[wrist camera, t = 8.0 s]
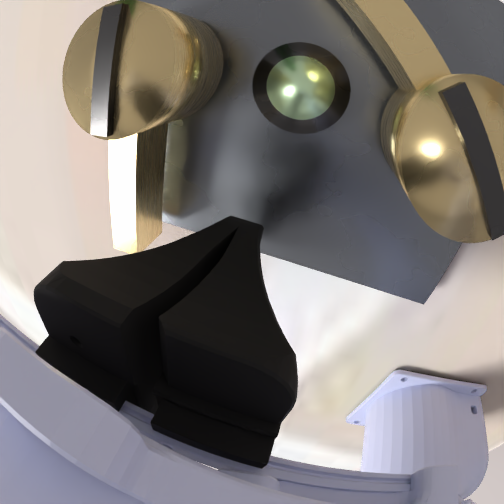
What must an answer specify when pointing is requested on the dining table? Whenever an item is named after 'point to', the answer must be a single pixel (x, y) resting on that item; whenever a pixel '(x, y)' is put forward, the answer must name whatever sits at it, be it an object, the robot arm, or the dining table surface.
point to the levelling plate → (316, 137)
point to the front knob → (438, 126)
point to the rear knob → (138, 100)
